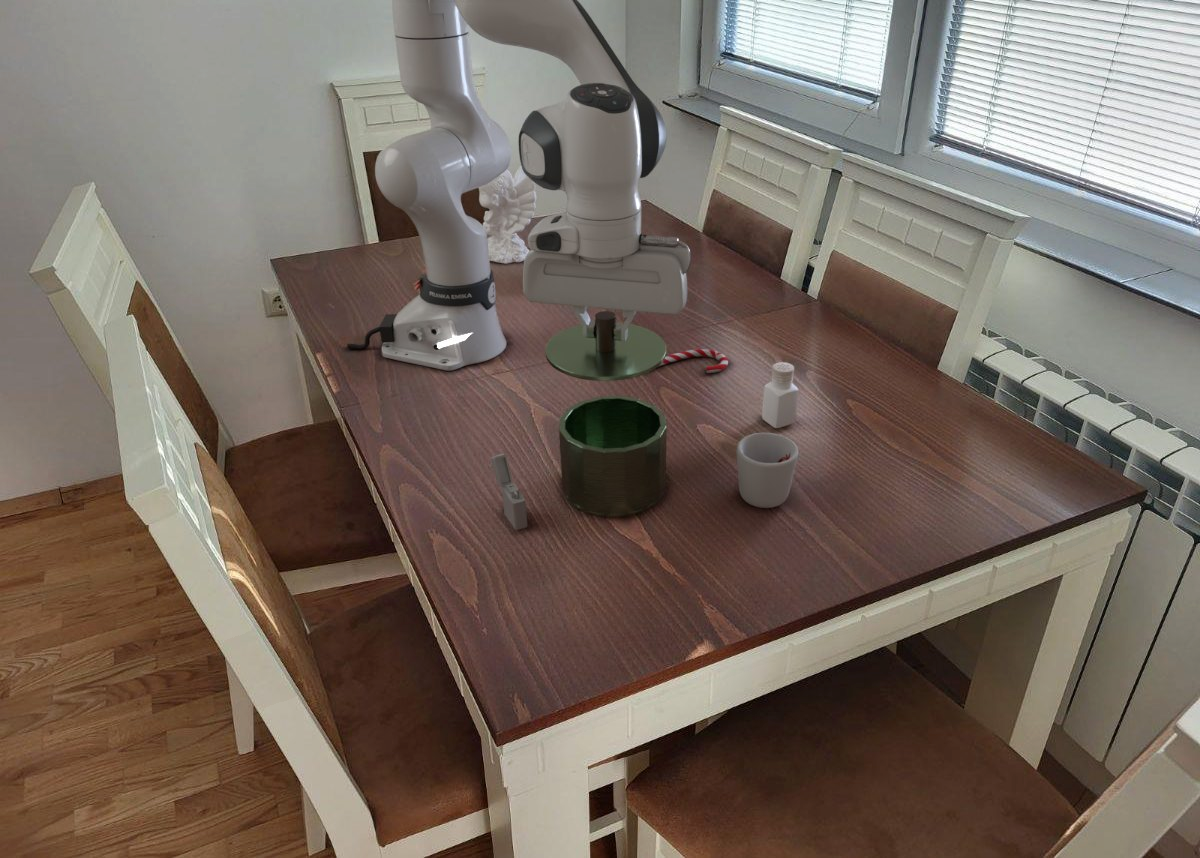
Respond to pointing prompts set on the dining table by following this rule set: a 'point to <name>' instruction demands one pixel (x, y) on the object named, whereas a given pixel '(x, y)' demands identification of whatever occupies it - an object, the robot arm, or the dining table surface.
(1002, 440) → the dining table surface
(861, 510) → the dining table surface
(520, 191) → the cherub figurine
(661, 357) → the tin lid
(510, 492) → the lighter
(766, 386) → the pepper shaker
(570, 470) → the tin
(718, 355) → the candy cane
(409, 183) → the robot arm
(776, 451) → the cup
